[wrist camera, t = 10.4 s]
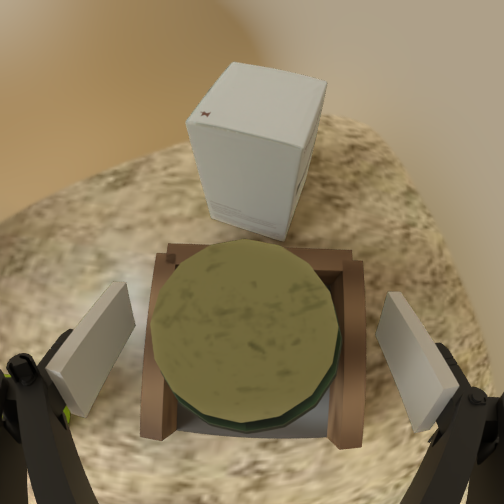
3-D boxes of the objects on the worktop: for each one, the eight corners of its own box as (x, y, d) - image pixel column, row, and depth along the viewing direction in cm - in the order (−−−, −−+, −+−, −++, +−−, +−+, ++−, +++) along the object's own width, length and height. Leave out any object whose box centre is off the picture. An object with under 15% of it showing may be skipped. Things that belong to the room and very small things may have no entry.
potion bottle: (201, 404, 21) (67, 475, 4) (205, 306, 24) (102, 169, 7) (306, 406, 21) (422, 487, 4) (305, 306, 24) (398, 168, 7)
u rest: (343, 434, 20) (361, 447, 16) (160, 425, 21) (140, 436, 17) (345, 269, 26) (361, 250, 21) (173, 263, 26) (158, 243, 22)
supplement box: (285, 245, 27) (304, 151, 15) (208, 219, 28) (179, 120, 16) (308, 181, 29) (331, 79, 17) (239, 160, 30) (230, 58, 18)
